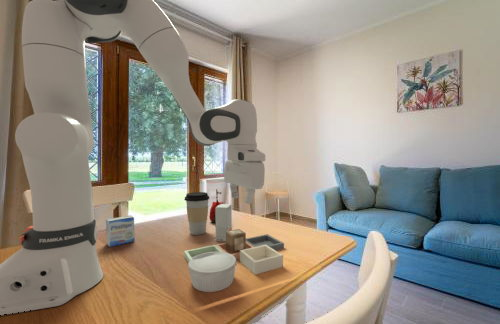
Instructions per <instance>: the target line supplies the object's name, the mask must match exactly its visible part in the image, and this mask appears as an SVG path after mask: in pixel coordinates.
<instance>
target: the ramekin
mask: <svg viewBox="0 0 500 324" xmlns="http://www.w3.org/2000/svg"><path fill="white" fill-rule="evenodd" d="M187 263H188V262H187ZM236 266H237V260H236V258H235V257H234V256H233V255H231V254H229V253H225V252H208V253H203V254H199V255H197V256H195V257H193V258H192V259H191V260H190V261H189V263H188V266H187V267H188V268H187V270H188V271H189V277H190V281H191V285H192V287H193V288H194V289H196V290H197V291H200V292H203V293H204V292H205V293H206V292H207V293H211V292H213V293H214V292H219V291H223V290H225V289H227V288H229V286H231V285H232V284H233V282H234V280H235V279H234V278H235V272H236Z"/></svg>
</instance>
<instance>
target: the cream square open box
mask: <svg viewBox="0 0 500 324" xmlns="http://www.w3.org/2000/svg"><path fill="white" fill-rule="evenodd" d="M239 262H240V263H241V264H242V265H243V266H244V267H246V269H247V270H249V271H250V272H251V273H252V274H254V275H255V276H256V275H259V274H262V273H265V272H270V271H274V270H276V269H280V268H284V255H283V254H281V253H280V252H279V251H277V250H274V249H272V248H270V247H269V246H267V245H262V246H257V247H253V248H249V249H244V250H240V259H239Z"/></svg>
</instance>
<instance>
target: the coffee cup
mask: <svg viewBox="0 0 500 324" xmlns="http://www.w3.org/2000/svg"><path fill="white" fill-rule="evenodd" d="M209 200H210V195H208V192H204V191H203V192H202V191H197V192H196V191H195V192H188V193H186V194H185V196H184V202H185V201H186V212H187V220H188V226H189V233H190V234H191V235H192V236H199V235H200V236H202V235H203V234H206V233H207V222H208V221H207V220H208V213H209Z"/></svg>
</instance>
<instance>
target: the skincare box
mask: <svg viewBox="0 0 500 324" xmlns="http://www.w3.org/2000/svg"><path fill="white" fill-rule="evenodd" d="M232 208H233V207H232V203H231V204H230V203H229V204H228V203H224V204H220V205H218V206H217V207H216V208H215V217H216V223H215V241H216V242H226V231H230V230H233V229H232V227H233V225H232V223H233V220H232V218H233V217H232V216H233V215H232V213H233V212H232Z"/></svg>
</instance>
